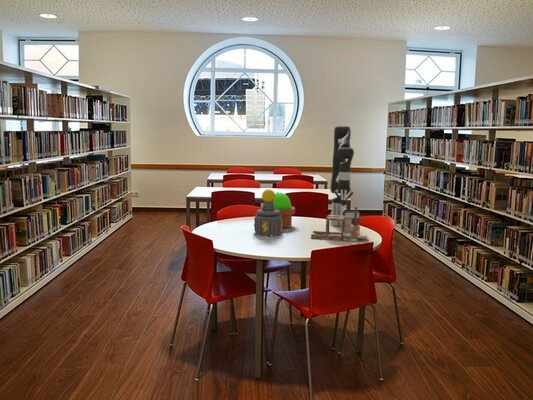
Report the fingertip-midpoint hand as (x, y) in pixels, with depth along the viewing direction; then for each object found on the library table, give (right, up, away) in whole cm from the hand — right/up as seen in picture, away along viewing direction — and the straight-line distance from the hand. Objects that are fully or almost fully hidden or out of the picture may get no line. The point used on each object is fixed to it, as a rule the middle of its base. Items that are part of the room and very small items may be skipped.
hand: (343, 205), depth 309 cm
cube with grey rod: (+8, -20, +1) cm, 21 cm away
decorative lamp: (-49, -19, +15) cm, 54 cm away
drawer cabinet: (-5, -21, +4) cm, 22 cm away
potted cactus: (-40, -16, +40) cm, 59 cm away
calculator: (+8, -19, +19) cm, 28 cm away
